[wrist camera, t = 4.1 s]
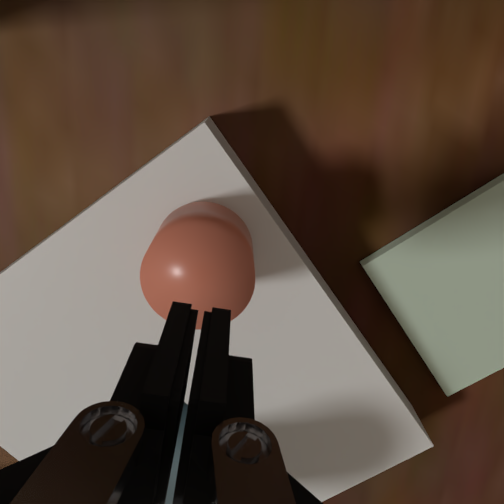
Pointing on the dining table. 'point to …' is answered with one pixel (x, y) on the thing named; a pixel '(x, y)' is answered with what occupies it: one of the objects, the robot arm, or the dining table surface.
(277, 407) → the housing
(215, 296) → the knob
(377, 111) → the dining table surface
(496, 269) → the mat
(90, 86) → the dining table surface
